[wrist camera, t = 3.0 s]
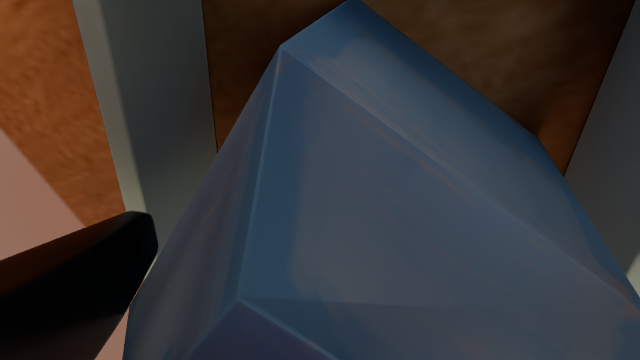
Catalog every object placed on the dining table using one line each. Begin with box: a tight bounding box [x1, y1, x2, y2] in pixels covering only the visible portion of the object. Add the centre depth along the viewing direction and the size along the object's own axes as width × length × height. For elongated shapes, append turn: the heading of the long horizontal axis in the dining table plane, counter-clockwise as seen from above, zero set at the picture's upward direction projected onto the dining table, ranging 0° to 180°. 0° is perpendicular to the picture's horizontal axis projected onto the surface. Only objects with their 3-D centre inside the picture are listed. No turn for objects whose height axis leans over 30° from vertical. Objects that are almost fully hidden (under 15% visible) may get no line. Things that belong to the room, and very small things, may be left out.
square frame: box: [72, 0, 640, 297], centre depth 10 cm, size 12×12×4 cm
